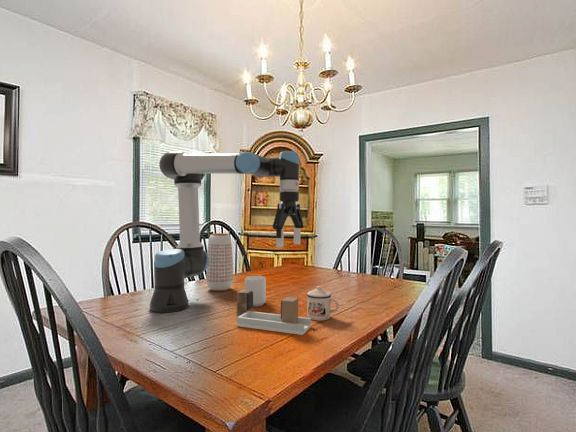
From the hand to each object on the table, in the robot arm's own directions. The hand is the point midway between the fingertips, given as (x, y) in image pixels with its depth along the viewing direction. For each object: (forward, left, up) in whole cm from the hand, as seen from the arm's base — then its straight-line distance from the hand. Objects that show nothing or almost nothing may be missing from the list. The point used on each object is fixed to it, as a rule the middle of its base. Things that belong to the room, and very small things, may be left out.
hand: (288, 245), depth 140 cm
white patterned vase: (-46, +25, -27) cm, 59 cm away
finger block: (-14, -9, -26) cm, 31 cm away
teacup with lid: (+15, -2, -27) cm, 30 cm away
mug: (-17, +8, -27) cm, 33 cm away
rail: (+2, -18, -26) cm, 32 cm away
